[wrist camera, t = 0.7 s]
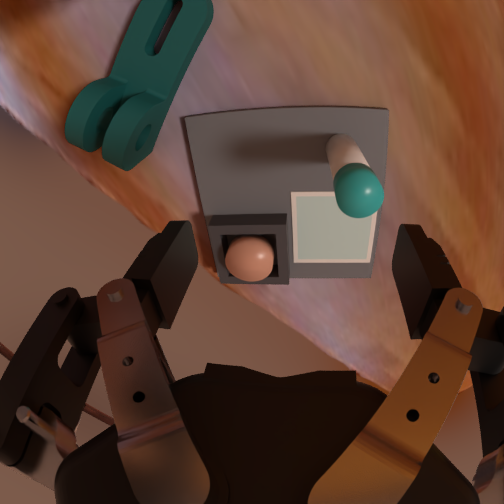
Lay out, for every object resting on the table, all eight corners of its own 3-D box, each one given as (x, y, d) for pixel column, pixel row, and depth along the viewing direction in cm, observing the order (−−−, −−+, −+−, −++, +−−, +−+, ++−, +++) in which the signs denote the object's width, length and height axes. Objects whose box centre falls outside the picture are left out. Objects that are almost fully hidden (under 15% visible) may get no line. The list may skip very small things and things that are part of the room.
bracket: (152, 151, 30) (115, 183, 24) (103, 128, 29) (59, 154, 22) (227, -3, 19) (201, -21, 13) (165, -22, 18) (123, -38, 12)
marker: (324, 132, 25) (336, 173, 18) (358, 132, 25) (386, 174, 17) (324, 164, 27) (335, 218, 19) (357, 164, 27) (381, 218, 19)
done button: (225, 233, 32) (221, 244, 31) (272, 232, 31) (270, 244, 30) (232, 269, 35) (229, 281, 34) (275, 269, 34) (274, 281, 33)
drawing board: (187, 116, 27) (176, 123, 24) (386, 108, 23) (395, 114, 21) (219, 272, 39) (214, 289, 36) (369, 273, 35) (373, 290, 33)
